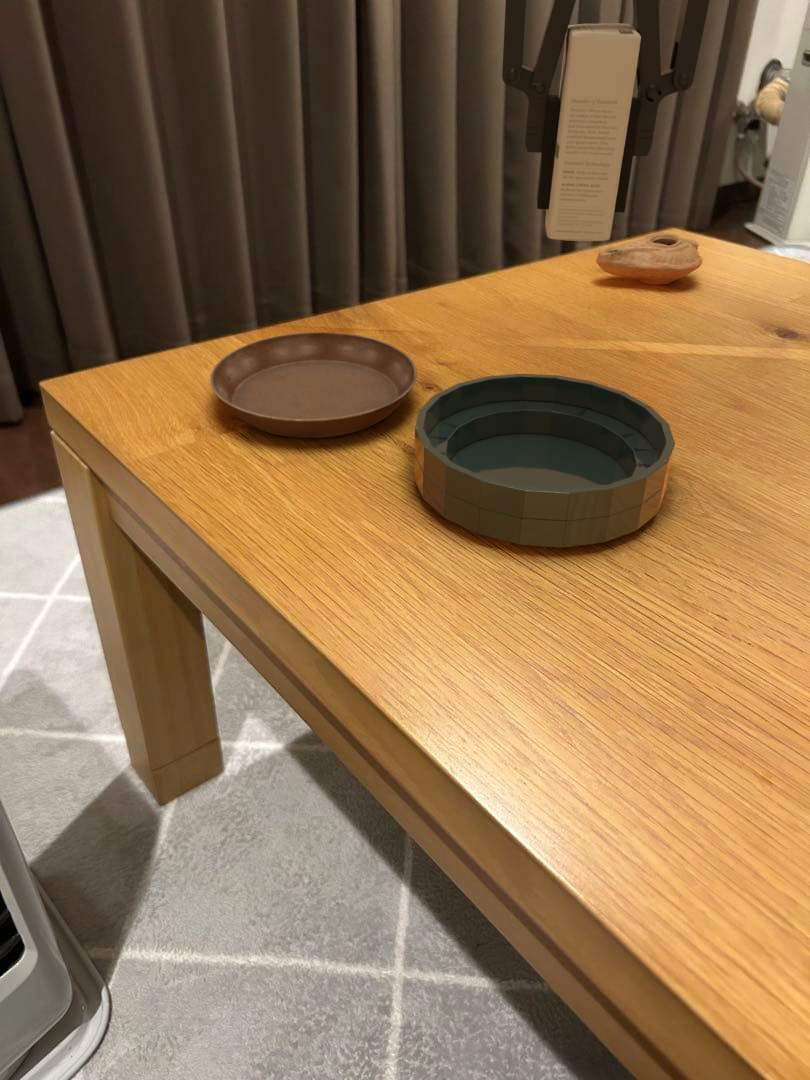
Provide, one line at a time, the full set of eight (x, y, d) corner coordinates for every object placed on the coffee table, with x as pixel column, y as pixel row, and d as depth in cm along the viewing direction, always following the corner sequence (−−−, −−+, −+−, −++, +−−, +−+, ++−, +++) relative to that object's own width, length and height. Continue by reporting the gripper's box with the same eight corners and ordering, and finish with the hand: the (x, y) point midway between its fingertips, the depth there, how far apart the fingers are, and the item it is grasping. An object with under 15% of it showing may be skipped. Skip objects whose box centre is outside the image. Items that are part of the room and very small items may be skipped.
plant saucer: (359, 469, 67) (358, 434, 65) (171, 423, 73) (166, 389, 71) (447, 383, 80) (448, 351, 78) (282, 350, 86) (280, 320, 84)
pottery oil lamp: (580, 269, 106) (600, 212, 105) (665, 301, 109) (686, 246, 108) (606, 265, 98) (629, 202, 97) (698, 300, 101) (721, 239, 99)
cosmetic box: (543, 217, 62) (559, 22, 55) (606, 219, 62) (631, 22, 55) (546, 242, 57) (565, 30, 50) (615, 243, 57) (643, 30, 50)
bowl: (644, 435, 72) (655, 379, 69) (679, 565, 57) (694, 500, 54) (425, 423, 73) (426, 368, 70) (403, 547, 58) (403, 483, 55)
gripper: (467, -273, 43) (448, 214, 56) (828, -275, 42) (720, 226, 55) (474, -246, 49) (455, 187, 62) (788, -247, 48) (700, 197, 61)
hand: (579, 204), depth 59 cm, fingers closed on cosmetic box, 4 cm apart
